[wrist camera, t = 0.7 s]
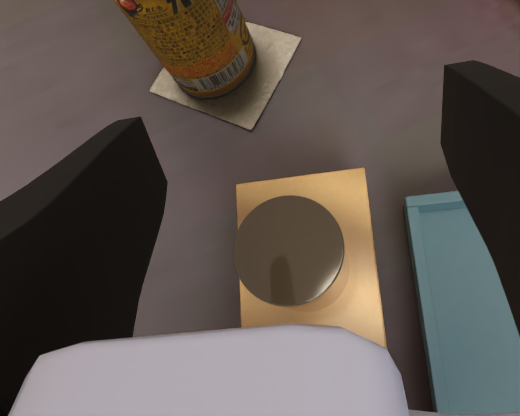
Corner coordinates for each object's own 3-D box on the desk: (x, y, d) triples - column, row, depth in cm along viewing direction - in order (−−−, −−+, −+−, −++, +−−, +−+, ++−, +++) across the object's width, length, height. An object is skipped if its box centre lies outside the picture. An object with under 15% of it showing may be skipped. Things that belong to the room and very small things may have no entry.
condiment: (199, 8, 34) (111, -154, 23) (302, 39, 32) (258, -129, 20) (150, 92, 33) (34, -35, 22) (252, 132, 31) (178, 8, 19)
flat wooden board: (410, 543, 22) (415, 577, 19) (267, 538, 24) (249, 569, 21) (366, 187, 28) (364, 166, 24) (251, 202, 29) (235, 183, 26)
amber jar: (356, 311, 23) (350, 302, 18) (263, 317, 24) (234, 310, 19) (346, 219, 24) (338, 188, 19) (259, 228, 25) (230, 201, 20)
